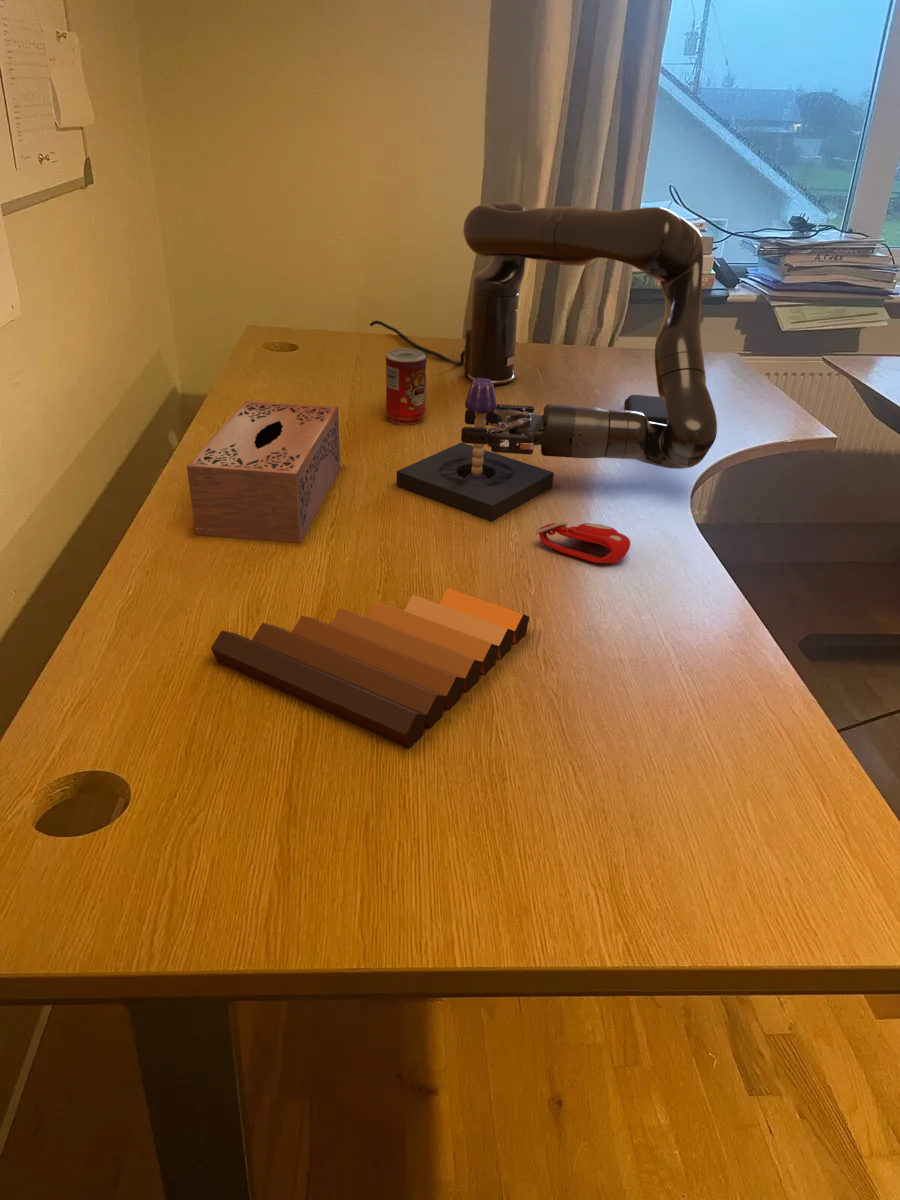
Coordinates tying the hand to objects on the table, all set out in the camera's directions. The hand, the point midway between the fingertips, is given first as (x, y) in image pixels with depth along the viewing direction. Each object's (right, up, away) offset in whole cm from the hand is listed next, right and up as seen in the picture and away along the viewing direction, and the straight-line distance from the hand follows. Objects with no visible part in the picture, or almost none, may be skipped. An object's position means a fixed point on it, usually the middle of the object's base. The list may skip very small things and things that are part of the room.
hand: (463, 425), depth 132 cm
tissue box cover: (-28, -11, -1) cm, 30 cm away
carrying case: (+35, +7, +32) cm, 48 cm away
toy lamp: (+2, -9, +5) cm, 10 cm away
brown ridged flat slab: (-10, -31, -33) cm, 46 cm away
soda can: (-10, +7, +29) cm, 32 cm away
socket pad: (+2, -8, +5) cm, 10 cm away
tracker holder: (+16, -19, -11) cm, 27 cm away
